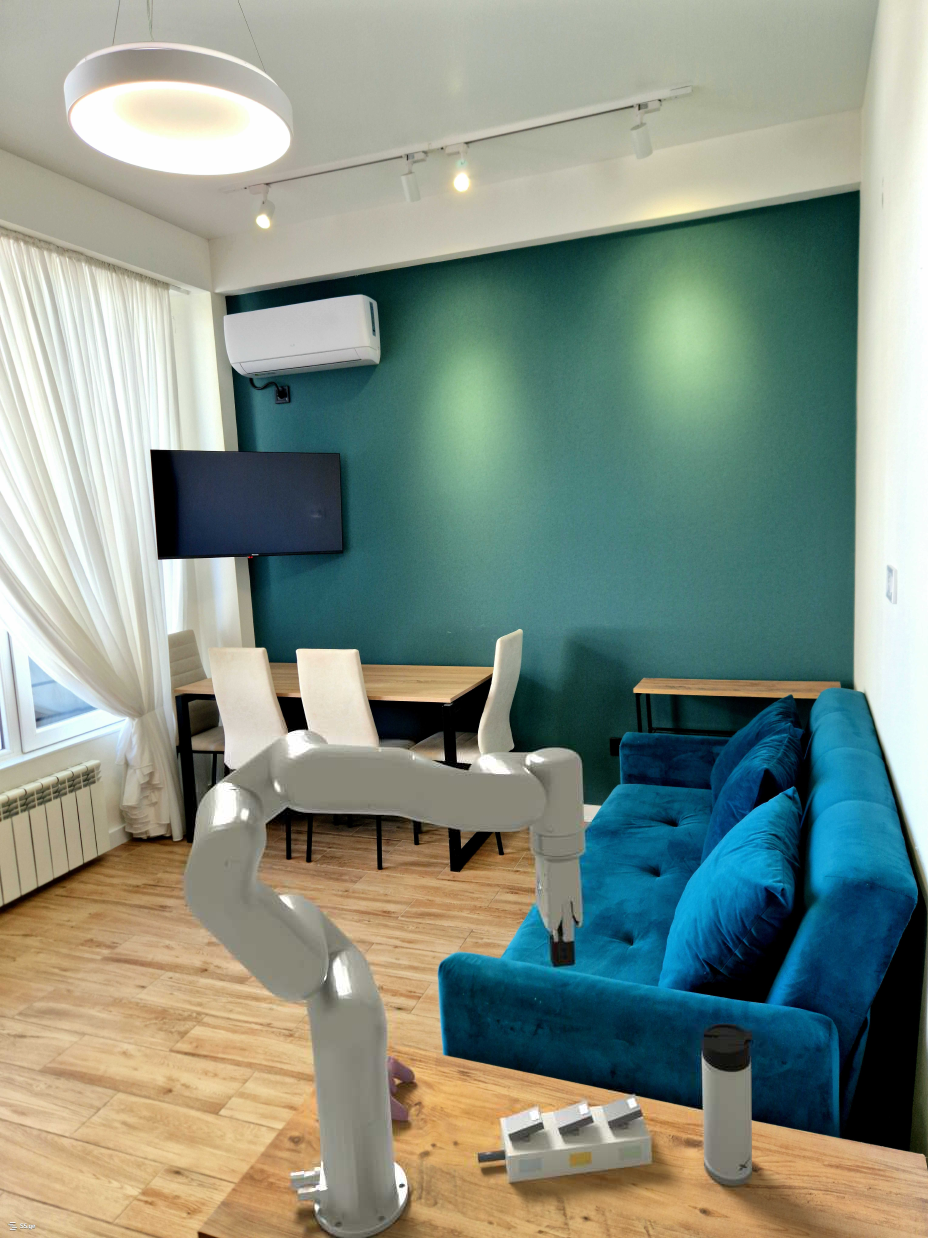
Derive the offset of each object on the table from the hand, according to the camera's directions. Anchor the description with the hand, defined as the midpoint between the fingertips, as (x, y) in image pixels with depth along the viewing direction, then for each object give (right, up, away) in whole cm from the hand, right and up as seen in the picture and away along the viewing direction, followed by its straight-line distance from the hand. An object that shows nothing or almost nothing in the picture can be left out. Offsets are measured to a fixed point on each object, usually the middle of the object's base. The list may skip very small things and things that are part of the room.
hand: (562, 963), depth 114 cm
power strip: (0, -27, 0) cm, 27 cm away
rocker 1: (-5, -22, -1) cm, 23 cm away
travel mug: (+22, -27, -3) cm, 35 cm away
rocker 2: (+8, -21, +1) cm, 23 cm away
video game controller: (-25, -27, +13) cm, 39 cm away
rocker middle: (+2, -22, 0) cm, 22 cm away
